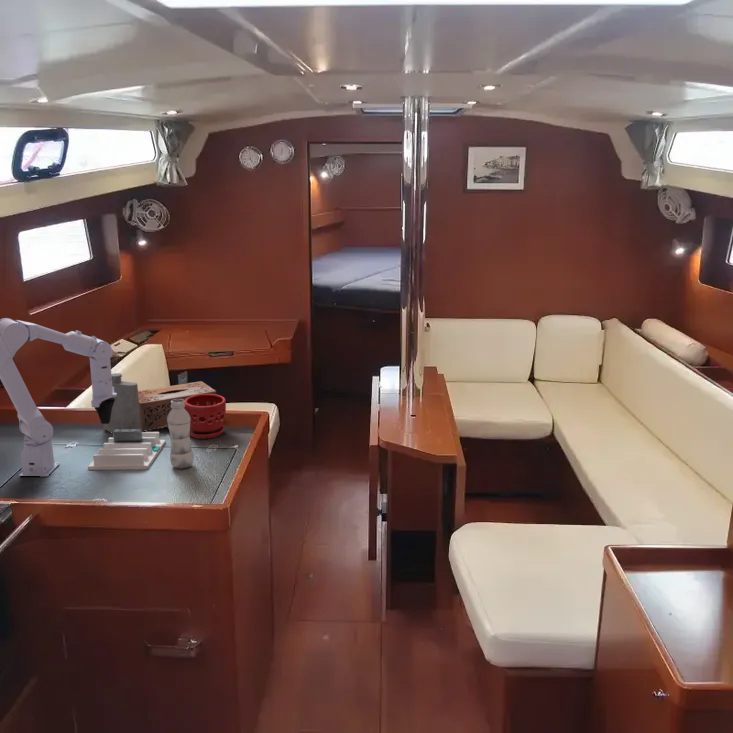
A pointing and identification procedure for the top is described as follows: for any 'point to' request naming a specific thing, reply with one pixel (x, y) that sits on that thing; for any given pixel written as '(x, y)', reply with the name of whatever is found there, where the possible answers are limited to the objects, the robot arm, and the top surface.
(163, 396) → the tissue box cover
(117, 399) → the hip flask
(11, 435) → the top surface
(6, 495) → the top surface
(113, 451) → the slot rack
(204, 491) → the top surface
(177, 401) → the plastic bottle
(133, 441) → the rectangular block
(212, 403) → the plant pot
